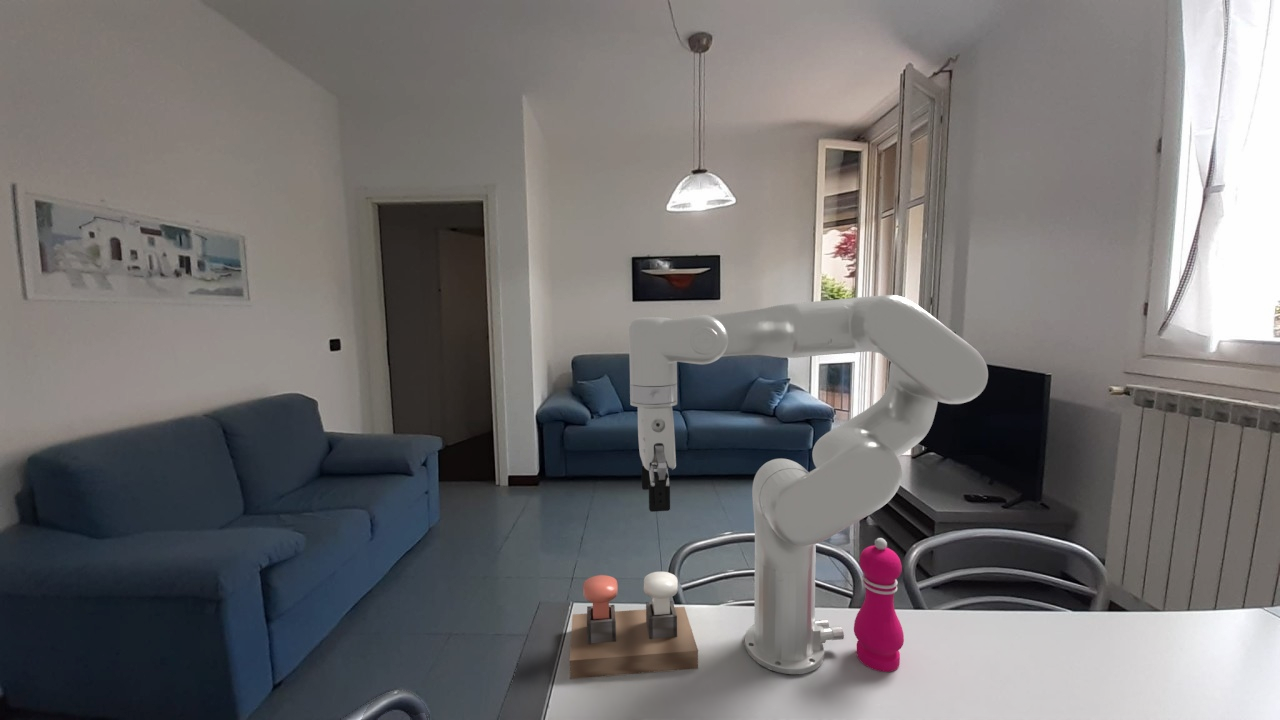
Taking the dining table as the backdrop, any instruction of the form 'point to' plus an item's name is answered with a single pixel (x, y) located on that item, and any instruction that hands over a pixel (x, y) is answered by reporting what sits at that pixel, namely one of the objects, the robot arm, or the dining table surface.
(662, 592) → the cream button
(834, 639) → the robot arm
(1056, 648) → the dining table surface
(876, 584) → the pepper mill
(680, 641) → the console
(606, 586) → the red button
